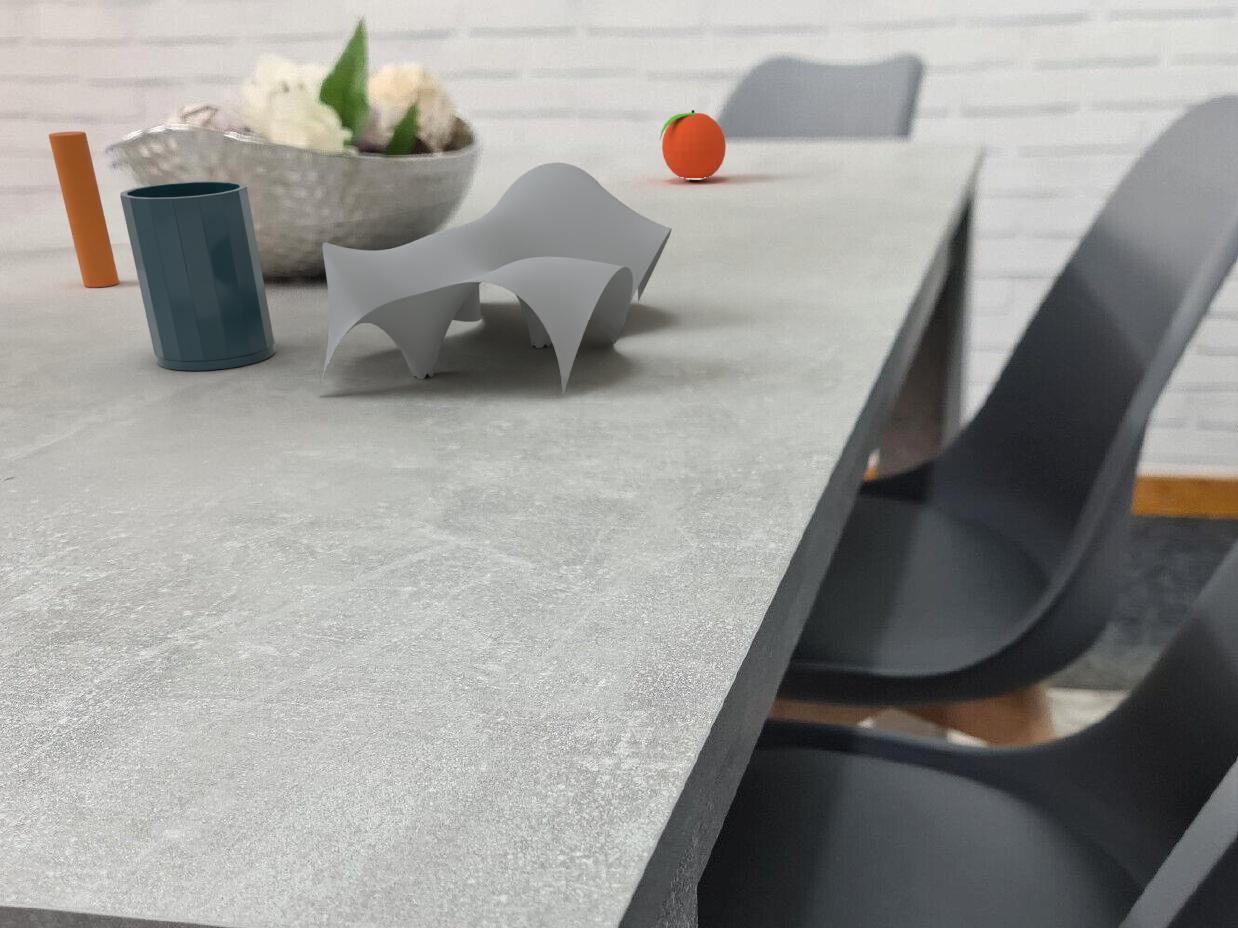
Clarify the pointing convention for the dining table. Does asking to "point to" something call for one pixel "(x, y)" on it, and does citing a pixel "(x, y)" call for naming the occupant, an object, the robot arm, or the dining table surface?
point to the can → (199, 274)
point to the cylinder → (84, 208)
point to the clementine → (693, 145)
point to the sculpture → (504, 270)
